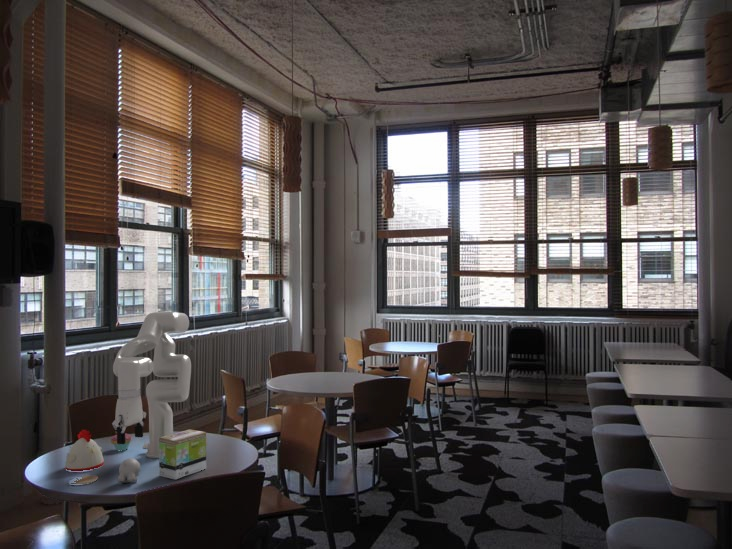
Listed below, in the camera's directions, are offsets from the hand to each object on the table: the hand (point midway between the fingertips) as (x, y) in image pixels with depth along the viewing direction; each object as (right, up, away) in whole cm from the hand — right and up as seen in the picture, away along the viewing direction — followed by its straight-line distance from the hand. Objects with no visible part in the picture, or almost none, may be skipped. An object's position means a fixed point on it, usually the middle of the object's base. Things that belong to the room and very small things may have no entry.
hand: (130, 440), depth 219 cm
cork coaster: (-18, -16, +2) cm, 24 cm away
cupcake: (-21, -16, +42) cm, 49 cm away
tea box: (+17, -15, +9) cm, 24 cm away
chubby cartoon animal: (0, -15, 0) cm, 15 cm away
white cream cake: (-25, -16, +18) cm, 35 cm away
